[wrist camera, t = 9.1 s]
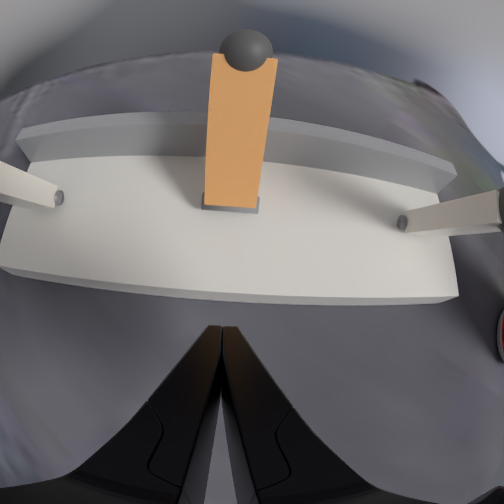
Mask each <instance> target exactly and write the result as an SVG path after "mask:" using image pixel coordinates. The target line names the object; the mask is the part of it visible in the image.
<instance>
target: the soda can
mask: <svg viewBox="0 0 504 504" xmlns="http://www.w3.org/2000/svg"><path fill="white" fill-rule="evenodd" d="M497 344H498V350H499V354H500V356H501V358H502V360H503V361H504V310H503V312H502V313H501V315H500V318H499V322H498V327H497Z"/></svg>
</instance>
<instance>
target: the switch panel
mask: <svg viewBox="0 0 504 504" xmlns="http://www.w3.org/2000/svg"><path fill="white" fill-rule="evenodd" d="M207 123H208V112H193V111H159V112H134V113H119V114H108V115H98V116H90V117H82V118H75V119H69V120H63V121H57V122H51V123H46V124H41V125H37V126H32V127H28V128H23V129H22V130H21V131H20V133H19V135H18V136H17V138H16V140H15V141H16V142H17V144H18V145H19V147H20V148H21V149H22V151H23V152H24V154H25V155H26V156H27V158H28V159H29V160H30V162H31V164H30V166H29V168H28V170H27V173H29V174H31V175H33V176H36V177H38V178H40V179H43V180H45V181H47V182H50V183H52V184H54V185H57V186H58V189H57V190H62V191H63V193H64V201H63V203H62V205H55V209H53V208H31V209H27V208H23V207H19V206H15V205H13V206H12V209H11V212H10V214H9V217H8V220H7V223H6V226H5V229H4V233H3V236H2V239H1V243H0V268H1V269H3V270H5V271H7V272H9V273H11V274H12V275H16V276H21V277H27V278H32V279H38V280H44V281H50V282H56V283H62V284H69V285H75V286H82V287H89V288H97V289H104V290H112V291H120V292H129V293H138V294H147V295H157V296H167V297H178V298H190V299H203V300H216V301H232V302H249V303H270V304H298V305H406V304H433V303H441V302H444V301H446V300H449V299H452V298H455V297H458V296H459V293H458V285H457V278H456V272H455V266H454V261H453V255H452V250H451V246H450V241H449V237H448V236H442V237H428V236H421V235H414V234H407V233H405V230H400V229H399V228H398V226H397V221H398V218H399V216H400V215H405V211H409V210H413V209H417V208H421V207H425V206H430V205H434V204H438V203H440V202H439V199H438V196H437V193H439V192H440V191H441V190H442V189H443V188H444V187H445V186H446V185H447V184H449V183H450V182H451V181H452V180H453V179H454V178H455V177H456V176H457V173H456V171H455V168H454V166H453V163H450V162H448V161H445V160H443V159H440V158H437V157H435V156H432V155H429V154H426V153H424V152H421V151H418V150H415V149H412V148H409V147H406V146H402V145H399V144H396V143H393V142H389V141H386V140H382V139H378V138H375V137H371V136H367V135H363V134H359V133H355V132H351V131H347V130H342V129H337V128H333V127H328V126H323V125H318V124H312V123H306V122H300V121H294V120H287V119H280V118H273V117H269V123H268V130H267V137H266V143H265V150H264V157H263V164H262V170H261V177H260V184H259V191H258V196H259V198H260V202H259V211H258V214H253V213H241V212H227V211H213V210H201V201H202V193H203V192H205V164H206V142H207Z"/></svg>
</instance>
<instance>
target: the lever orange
mask: <svg viewBox="0 0 504 504" xmlns="http://www.w3.org/2000/svg"><path fill="white" fill-rule="evenodd" d="M272 55H273V50H272V46H271V43H270V41H269V40H268V39H267V38H266V37H265V36H264V35H263V34H261V33H259V32H257V31H254V30H249V29H244V30H238V31H235V32H233V33H231V34H230V35H228V36H227V37H226V38H225V39H224V41H223V42H222V44H221V46H220V50H219V53H213V59H212V70H211V81H210V94H209V108H208V123H207V142H206V164H205V192H203V193H202V201H201V210H213V211H227V212H241V213H253V214H258V211H259V202H260V198H259V196H258V191H259V184H260V177H261V170H262V164H263V157H264V150H265V143H266V137H267V130H268V123H269V117H270V110H271V103H272V97H273V90H274V83H275V77H276V70H277V64H278V59H275V58H272Z"/></svg>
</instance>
